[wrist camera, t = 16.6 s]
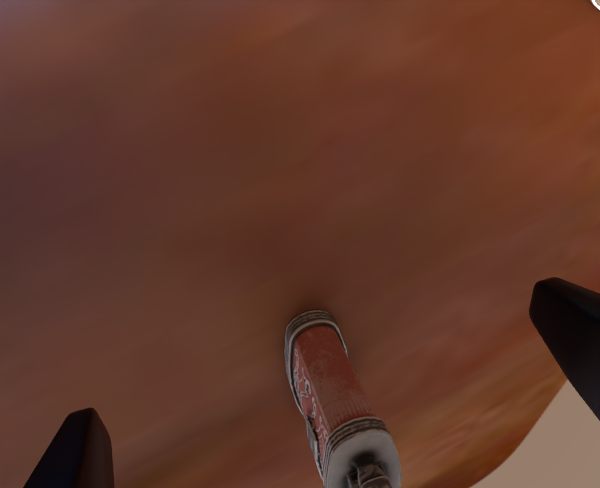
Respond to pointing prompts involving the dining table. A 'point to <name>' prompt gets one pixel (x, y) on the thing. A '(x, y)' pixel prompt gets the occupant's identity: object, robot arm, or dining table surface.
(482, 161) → the dining table surface
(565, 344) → the robot arm
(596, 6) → the wineglass
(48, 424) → the dining table surface
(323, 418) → the lighter
